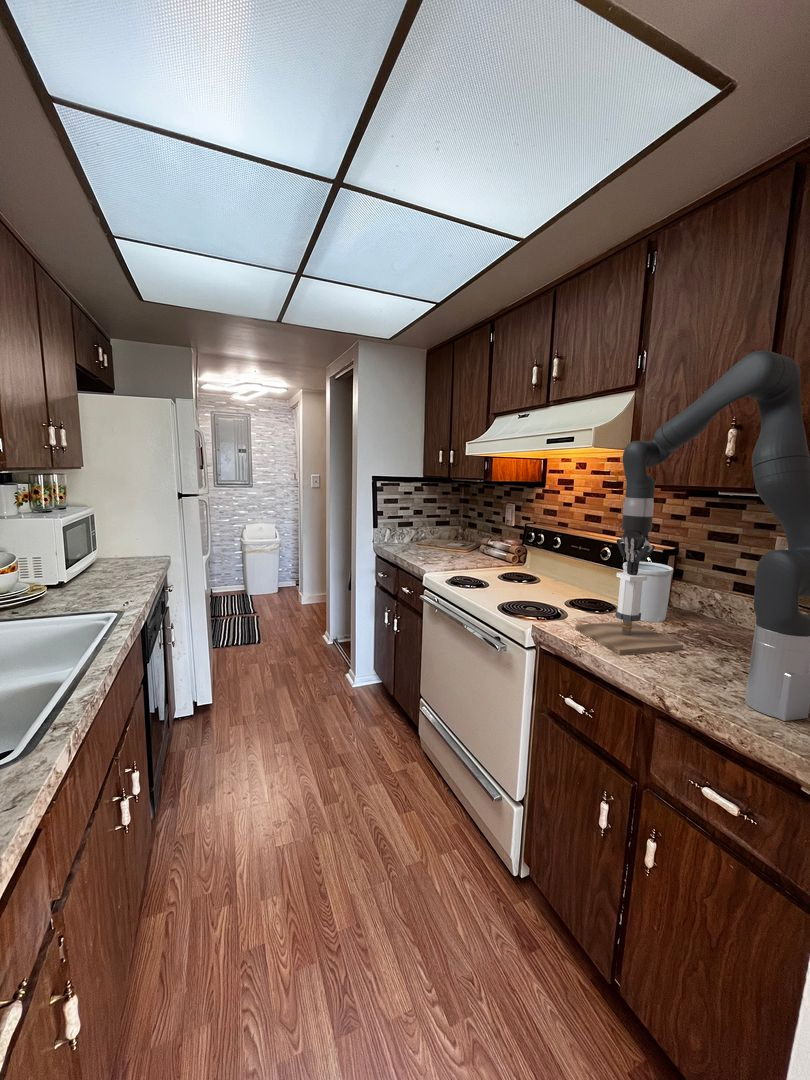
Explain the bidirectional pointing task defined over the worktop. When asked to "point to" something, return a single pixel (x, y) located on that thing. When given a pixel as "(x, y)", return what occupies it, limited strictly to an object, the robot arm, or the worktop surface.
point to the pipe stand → (628, 637)
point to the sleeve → (630, 593)
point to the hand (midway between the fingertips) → (631, 574)
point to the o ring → (628, 617)
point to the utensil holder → (654, 590)
